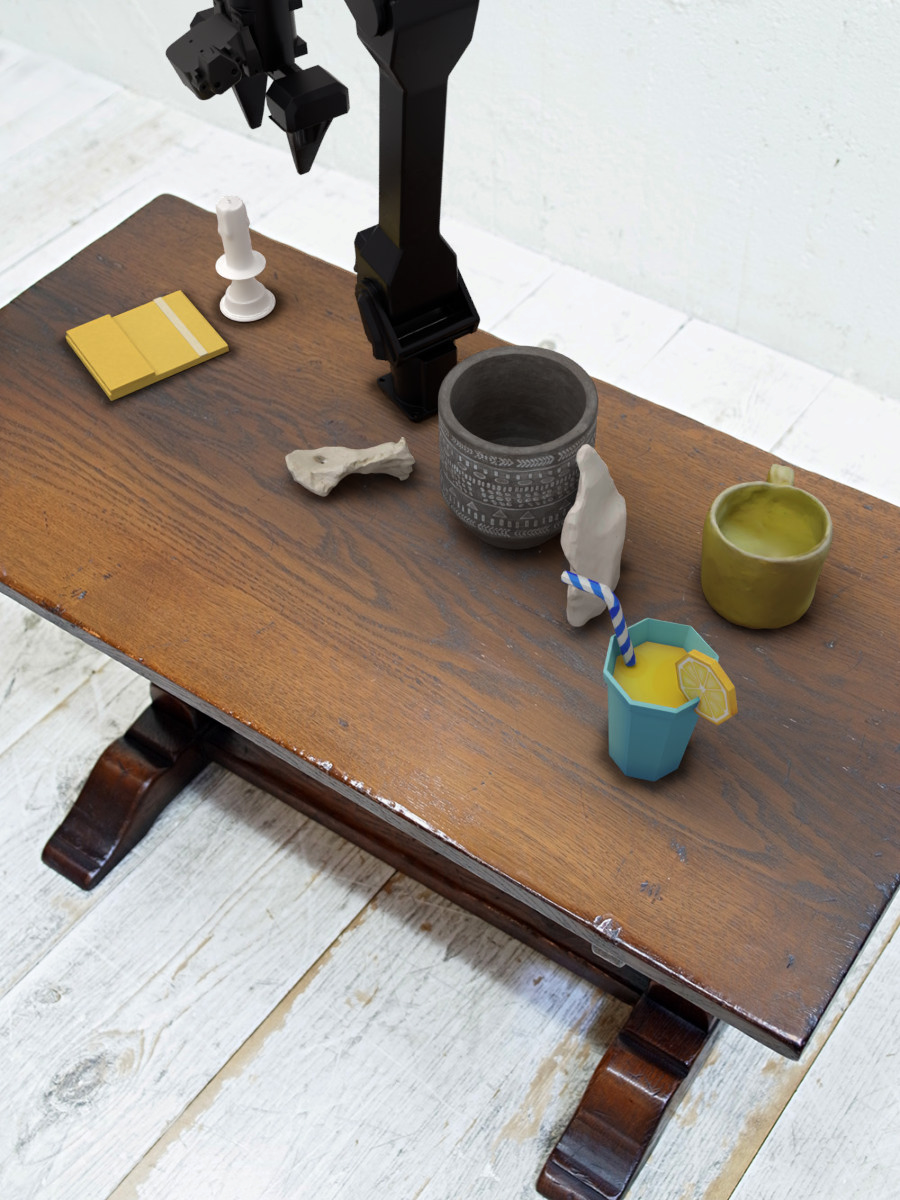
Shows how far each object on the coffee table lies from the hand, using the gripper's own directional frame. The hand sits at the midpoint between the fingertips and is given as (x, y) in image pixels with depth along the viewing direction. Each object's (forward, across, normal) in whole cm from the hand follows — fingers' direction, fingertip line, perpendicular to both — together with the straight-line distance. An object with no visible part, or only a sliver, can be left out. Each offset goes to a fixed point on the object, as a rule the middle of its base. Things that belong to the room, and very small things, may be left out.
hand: (279, 149), depth 120 cm
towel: (+12, +4, -18) cm, 22 cm away
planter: (+12, +41, -2) cm, 43 cm away
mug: (+12, +57, +10) cm, 59 cm away
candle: (+12, +4, -7) cm, 15 cm away
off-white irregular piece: (+12, +30, -11) cm, 34 cm away
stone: (+12, +52, -1) cm, 53 cm away
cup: (+12, +64, -8) cm, 66 cm away
